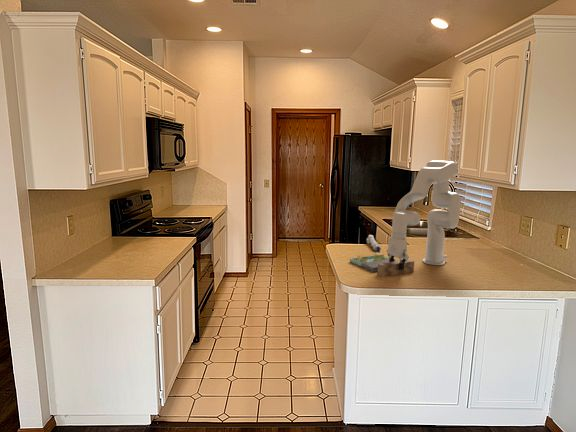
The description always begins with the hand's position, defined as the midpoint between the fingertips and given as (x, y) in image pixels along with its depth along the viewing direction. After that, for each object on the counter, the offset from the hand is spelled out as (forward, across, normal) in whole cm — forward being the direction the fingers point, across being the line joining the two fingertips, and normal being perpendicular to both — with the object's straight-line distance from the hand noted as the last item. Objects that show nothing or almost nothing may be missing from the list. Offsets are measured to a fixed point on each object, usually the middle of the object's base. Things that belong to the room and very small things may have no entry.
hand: (396, 267), depth 220 cm
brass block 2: (0, -19, +6) cm, 20 cm away
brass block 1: (0, -19, -6) cm, 20 cm away
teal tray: (+3, -21, 0) cm, 21 cm away
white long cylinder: (+3, -50, +26) cm, 57 cm away
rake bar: (+3, 0, 0) cm, 3 cm away
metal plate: (+3, -10, 0) cm, 11 cm away
